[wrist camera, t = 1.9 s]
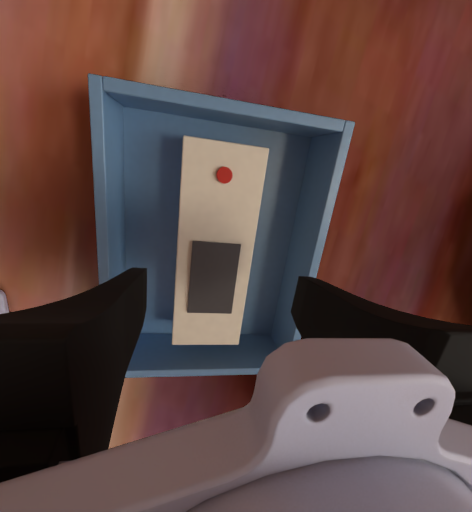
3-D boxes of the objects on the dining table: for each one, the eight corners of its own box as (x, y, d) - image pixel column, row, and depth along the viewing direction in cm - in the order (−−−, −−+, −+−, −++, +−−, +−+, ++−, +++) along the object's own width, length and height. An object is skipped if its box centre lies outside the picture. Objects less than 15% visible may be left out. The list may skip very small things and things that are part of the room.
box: (120, 336, 21) (103, 378, 17) (114, 94, 16) (87, 72, 11) (274, 336, 24) (292, 373, 20) (318, 129, 18) (355, 121, 14)
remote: (174, 320, 21) (171, 347, 18) (184, 138, 17) (182, 134, 14) (232, 321, 22) (239, 346, 19) (257, 149, 18) (270, 147, 15)
